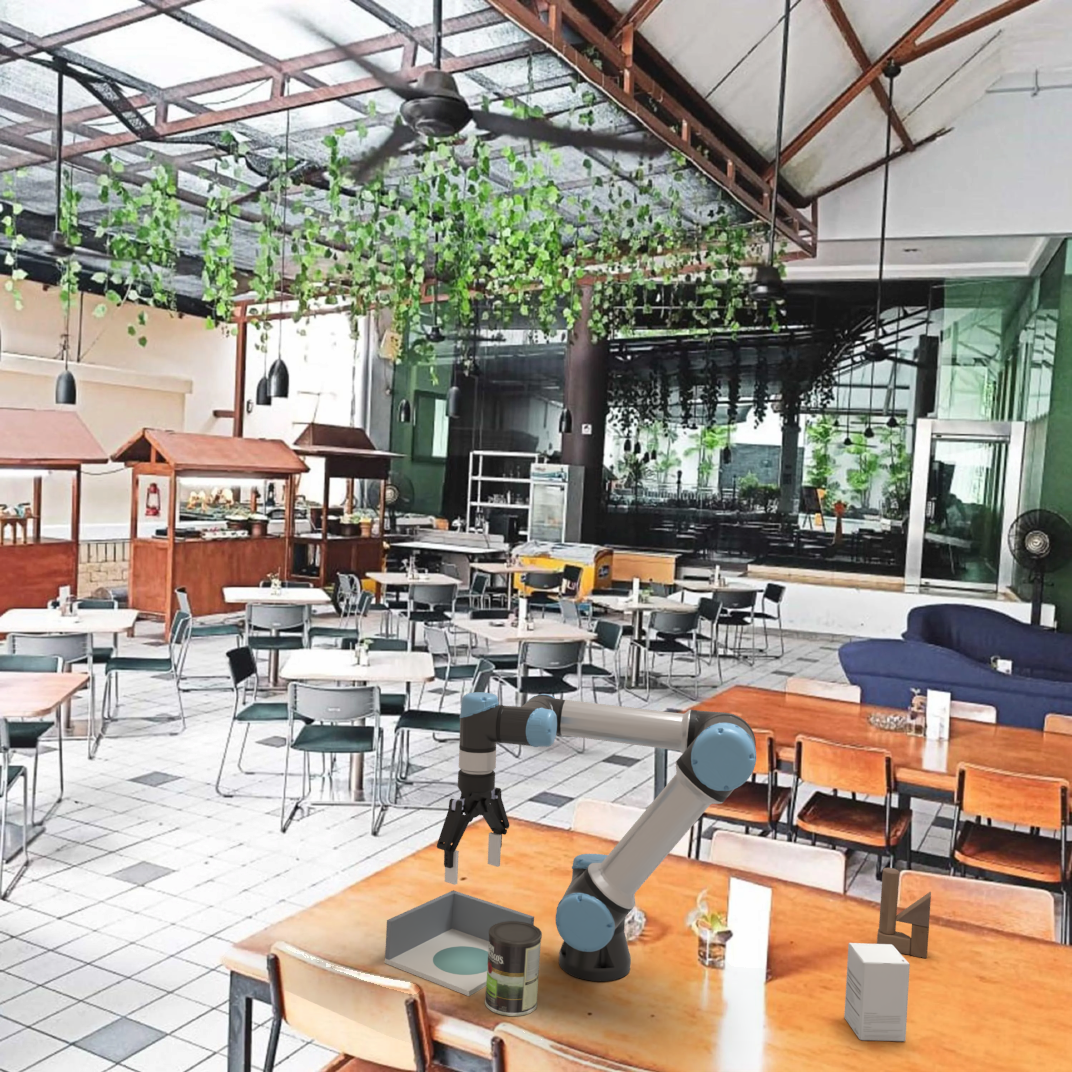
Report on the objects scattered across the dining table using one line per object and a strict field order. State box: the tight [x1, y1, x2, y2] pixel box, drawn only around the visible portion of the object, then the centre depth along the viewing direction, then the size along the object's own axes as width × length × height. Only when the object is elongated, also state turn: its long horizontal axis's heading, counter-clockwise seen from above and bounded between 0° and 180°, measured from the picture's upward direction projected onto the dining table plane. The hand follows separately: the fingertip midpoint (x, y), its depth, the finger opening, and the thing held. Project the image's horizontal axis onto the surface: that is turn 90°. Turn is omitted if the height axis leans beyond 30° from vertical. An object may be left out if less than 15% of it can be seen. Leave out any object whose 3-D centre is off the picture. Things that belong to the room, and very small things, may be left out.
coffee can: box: [484, 921, 543, 1017], centre depth 196 cm, size 10×10×14 cm
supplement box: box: [843, 942, 911, 1042], centre depth 194 cm, size 9×9×15 cm
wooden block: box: [876, 867, 932, 959], centre depth 231 cm, size 4×11×18 cm, turn 68°
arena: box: [384, 889, 535, 997], centre depth 213 cm, size 22×22×9 cm
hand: (472, 873), depth 206 cm, fingers open, 13 cm apart
